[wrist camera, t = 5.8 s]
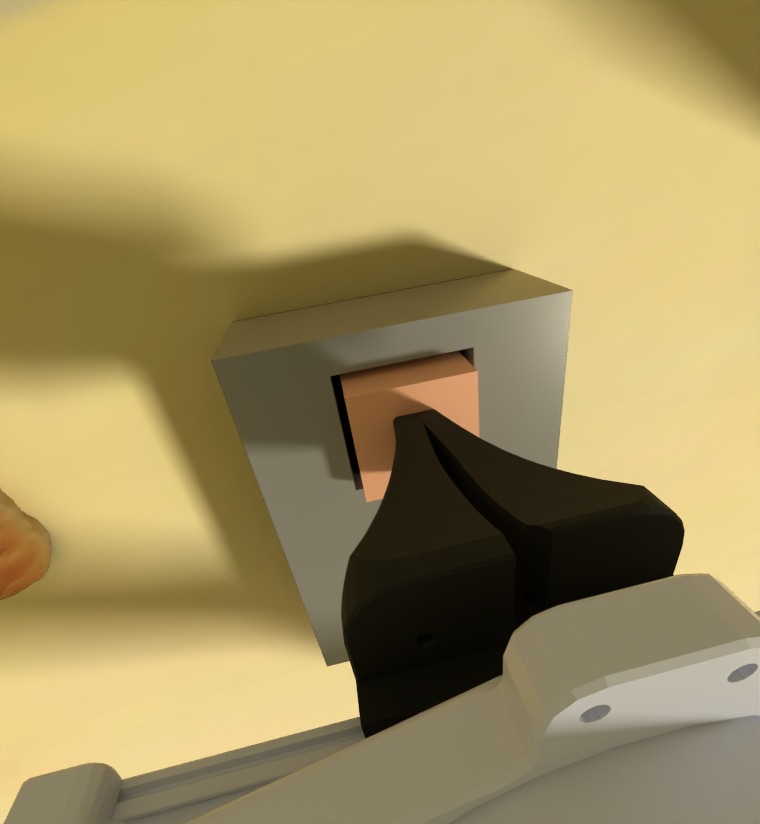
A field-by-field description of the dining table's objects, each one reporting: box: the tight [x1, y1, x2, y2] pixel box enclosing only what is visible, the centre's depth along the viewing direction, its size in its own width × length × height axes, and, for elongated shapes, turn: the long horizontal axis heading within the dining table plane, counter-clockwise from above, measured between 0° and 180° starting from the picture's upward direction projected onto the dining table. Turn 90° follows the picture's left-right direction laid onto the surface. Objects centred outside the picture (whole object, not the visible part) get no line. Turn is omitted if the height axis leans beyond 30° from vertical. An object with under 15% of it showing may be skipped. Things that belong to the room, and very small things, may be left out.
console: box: [211, 269, 573, 666], centre depth 18 cm, size 16×11×4 cm
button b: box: [340, 351, 479, 502], centre depth 14 cm, size 4×4×4 cm
